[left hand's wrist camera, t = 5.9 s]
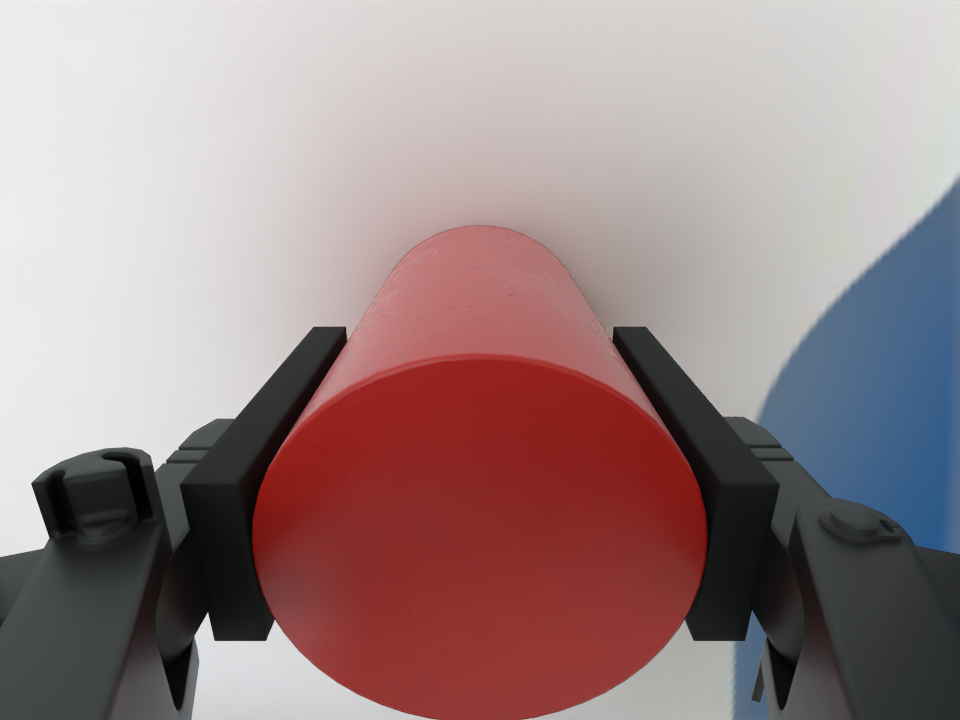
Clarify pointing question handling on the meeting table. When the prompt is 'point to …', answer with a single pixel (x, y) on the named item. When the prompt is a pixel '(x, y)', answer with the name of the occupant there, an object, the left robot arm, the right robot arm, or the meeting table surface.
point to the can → (479, 496)
